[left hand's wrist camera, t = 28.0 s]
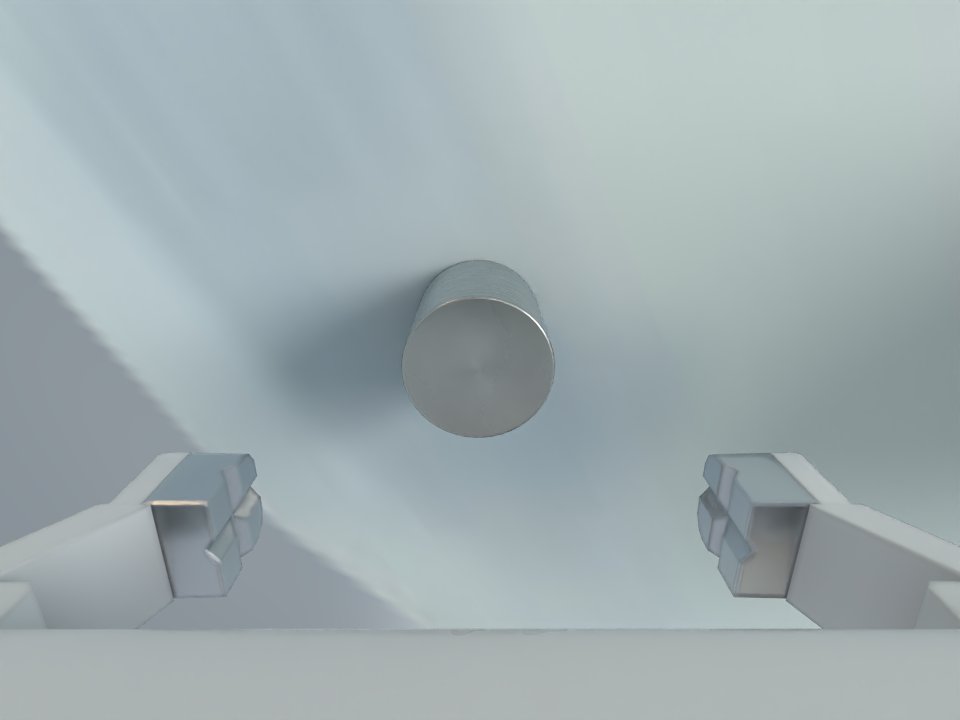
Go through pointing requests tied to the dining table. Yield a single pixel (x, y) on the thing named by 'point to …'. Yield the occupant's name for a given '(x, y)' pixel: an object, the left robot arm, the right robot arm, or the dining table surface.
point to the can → (478, 352)
